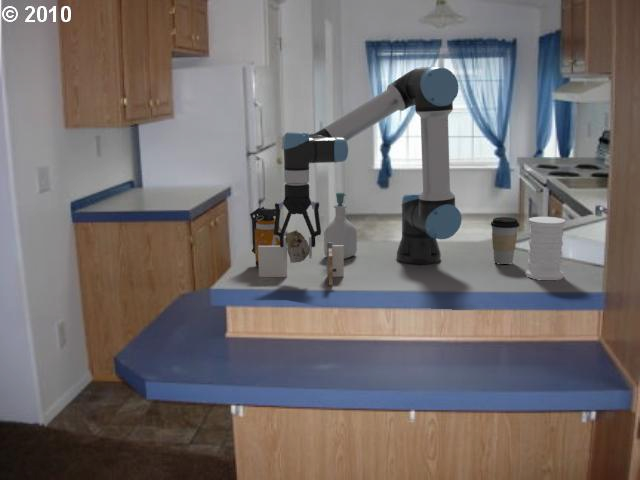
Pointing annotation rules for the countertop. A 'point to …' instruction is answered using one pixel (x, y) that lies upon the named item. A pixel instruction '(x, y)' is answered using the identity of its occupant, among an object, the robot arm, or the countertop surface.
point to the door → (330, 267)
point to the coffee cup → (504, 239)
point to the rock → (297, 246)
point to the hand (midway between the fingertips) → (297, 257)
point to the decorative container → (545, 248)
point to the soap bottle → (341, 230)
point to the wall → (276, 264)
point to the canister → (263, 229)
